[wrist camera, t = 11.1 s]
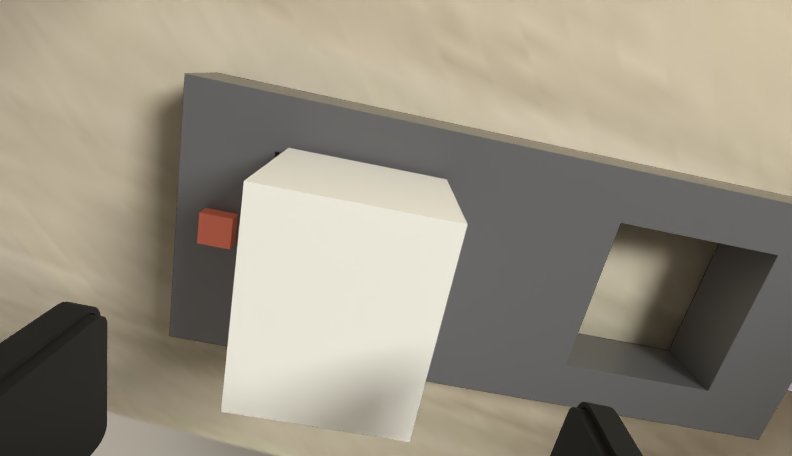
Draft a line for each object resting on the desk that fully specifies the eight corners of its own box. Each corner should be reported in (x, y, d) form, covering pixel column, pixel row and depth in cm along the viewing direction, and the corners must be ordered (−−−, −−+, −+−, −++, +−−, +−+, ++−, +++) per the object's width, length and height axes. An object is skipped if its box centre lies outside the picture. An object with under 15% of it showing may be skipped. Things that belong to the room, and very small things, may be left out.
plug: (438, 160, 20) (467, 224, 12) (404, 304, 22) (409, 441, 14) (306, 134, 19) (243, 180, 11) (286, 283, 22) (221, 411, 13)
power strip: (815, 202, 20) (900, 228, 17) (714, 395, 24) (768, 450, 20) (217, 72, 18) (176, 73, 15) (198, 301, 22) (162, 344, 18)
